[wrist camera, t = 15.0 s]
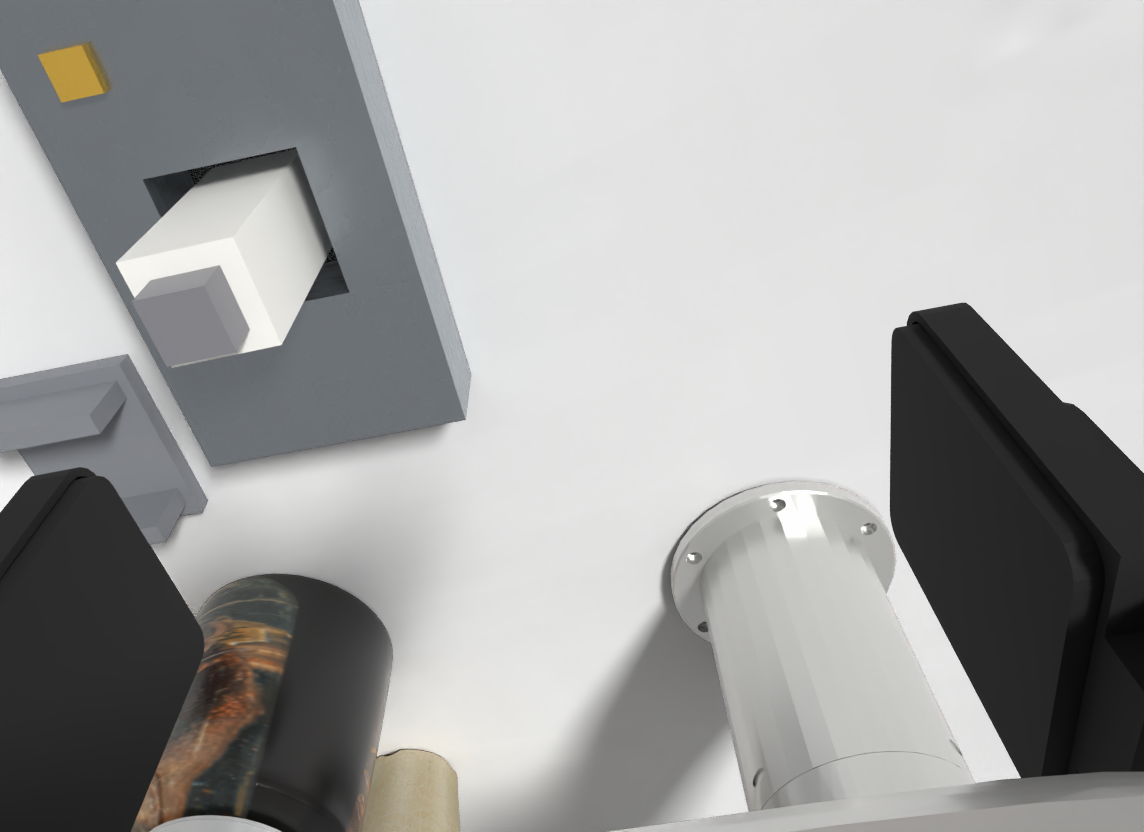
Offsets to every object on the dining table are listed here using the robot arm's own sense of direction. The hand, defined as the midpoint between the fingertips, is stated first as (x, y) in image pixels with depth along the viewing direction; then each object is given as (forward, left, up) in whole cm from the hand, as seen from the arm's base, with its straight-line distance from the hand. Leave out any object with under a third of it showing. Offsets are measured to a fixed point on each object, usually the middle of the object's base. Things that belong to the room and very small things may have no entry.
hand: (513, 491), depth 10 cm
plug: (-4, +12, -28) cm, 31 cm away
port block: (-4, +12, -28) cm, 31 cm away
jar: (-30, +21, -28) cm, 46 cm away
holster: (-14, +25, -28) cm, 40 cm away
